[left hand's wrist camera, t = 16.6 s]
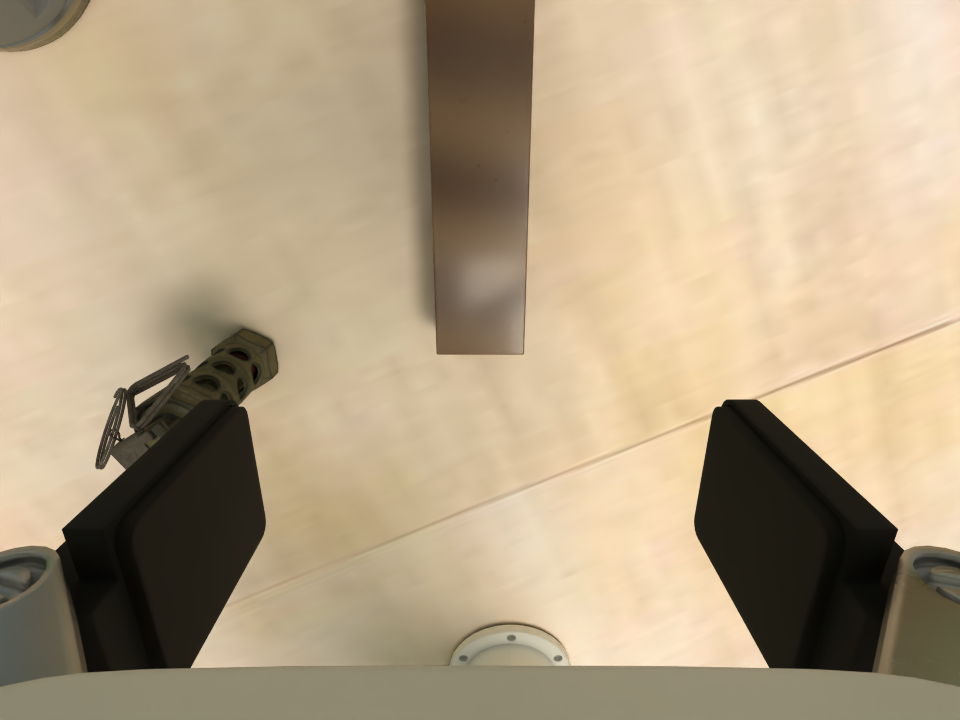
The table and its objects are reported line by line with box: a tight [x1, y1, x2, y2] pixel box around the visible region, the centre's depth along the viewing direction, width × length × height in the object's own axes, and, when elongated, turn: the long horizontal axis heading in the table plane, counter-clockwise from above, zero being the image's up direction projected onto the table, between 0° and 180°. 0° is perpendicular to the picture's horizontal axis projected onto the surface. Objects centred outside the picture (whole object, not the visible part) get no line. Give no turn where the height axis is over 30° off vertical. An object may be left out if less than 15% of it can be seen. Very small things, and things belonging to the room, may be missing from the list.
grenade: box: [95, 329, 278, 470], centre depth 38 cm, size 9×6×15 cm, turn 121°
